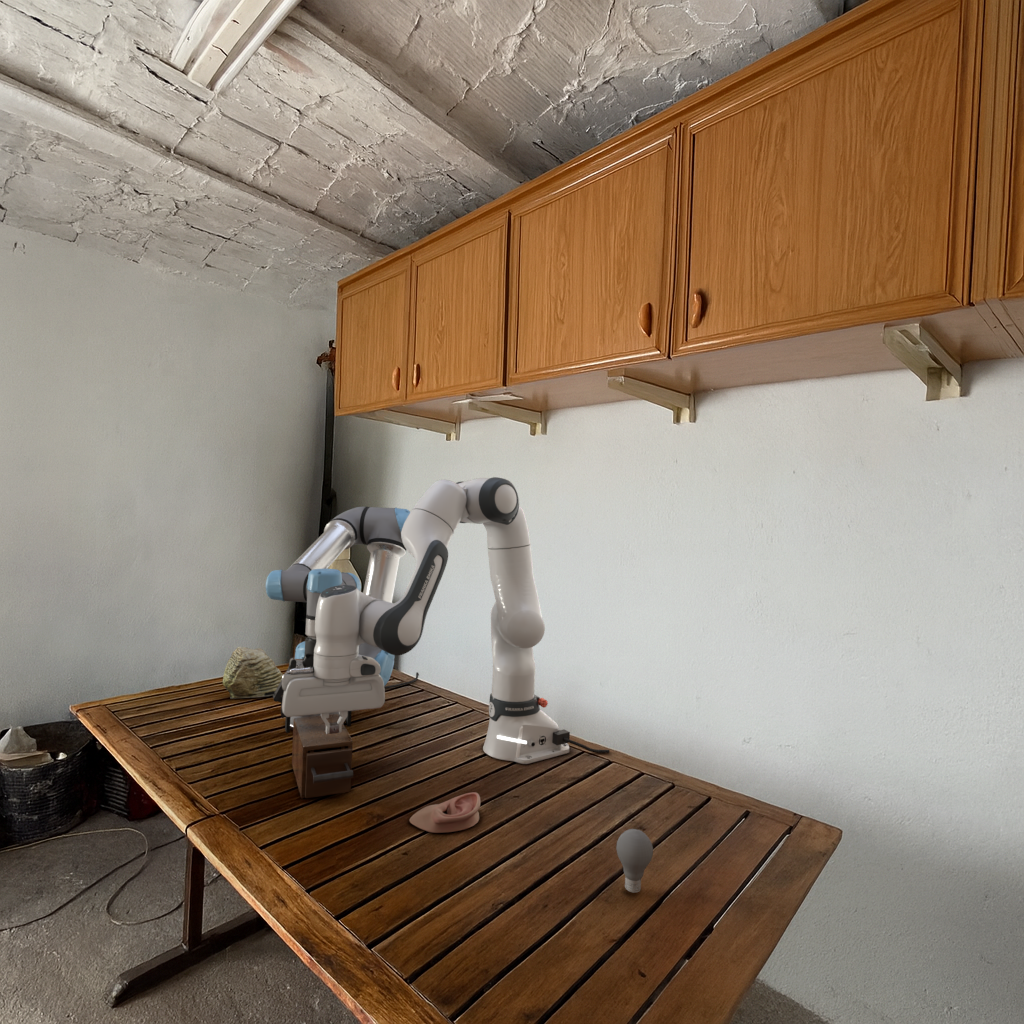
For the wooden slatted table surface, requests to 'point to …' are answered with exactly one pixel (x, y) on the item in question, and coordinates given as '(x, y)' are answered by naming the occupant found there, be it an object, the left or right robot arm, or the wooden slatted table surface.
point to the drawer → (328, 771)
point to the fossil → (251, 674)
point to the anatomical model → (449, 814)
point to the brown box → (314, 743)
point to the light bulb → (634, 857)
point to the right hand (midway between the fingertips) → (333, 732)
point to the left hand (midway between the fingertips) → (318, 727)
